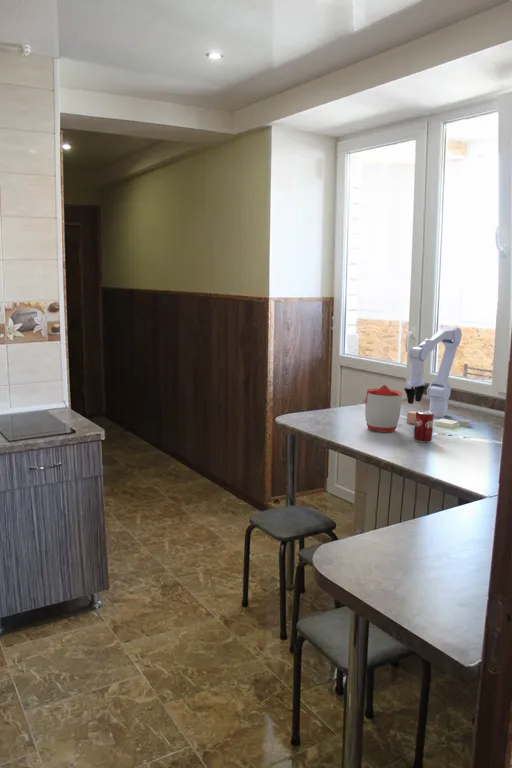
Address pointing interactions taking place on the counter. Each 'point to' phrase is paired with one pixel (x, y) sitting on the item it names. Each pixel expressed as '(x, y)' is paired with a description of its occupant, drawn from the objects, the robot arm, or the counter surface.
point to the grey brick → (464, 423)
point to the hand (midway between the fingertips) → (414, 402)
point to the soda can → (423, 426)
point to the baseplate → (450, 428)
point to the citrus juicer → (382, 409)
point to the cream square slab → (446, 423)
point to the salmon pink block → (411, 417)
